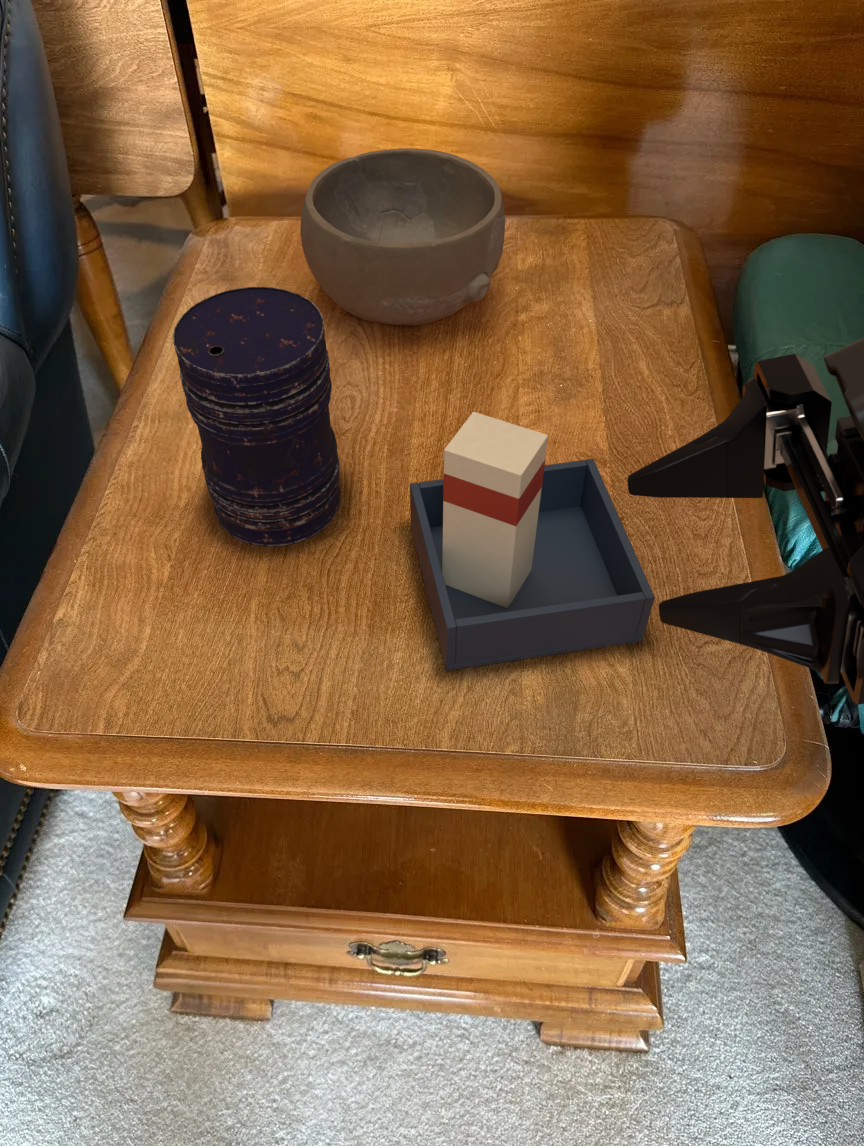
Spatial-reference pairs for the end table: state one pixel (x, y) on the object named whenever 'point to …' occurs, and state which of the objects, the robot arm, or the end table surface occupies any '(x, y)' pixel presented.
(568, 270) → the end table surface
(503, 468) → the plate
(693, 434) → the end table surface
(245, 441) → the dark blue cylinder
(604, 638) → the box
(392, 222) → the bowl
